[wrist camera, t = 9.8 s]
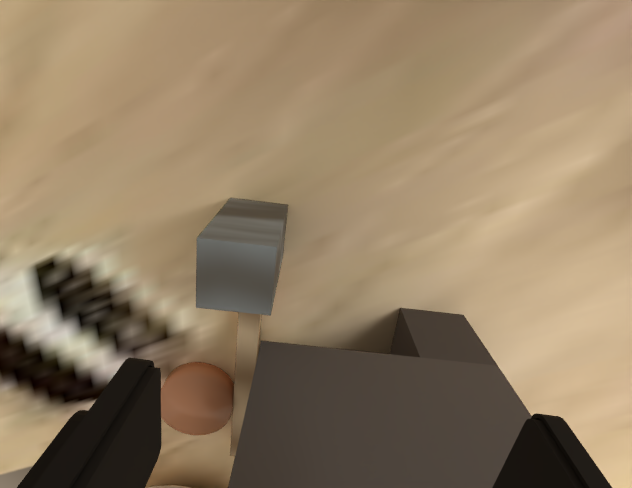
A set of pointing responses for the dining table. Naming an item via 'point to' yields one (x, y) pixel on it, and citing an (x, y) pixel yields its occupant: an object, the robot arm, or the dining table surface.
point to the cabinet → (380, 413)
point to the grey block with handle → (241, 280)
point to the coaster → (197, 398)
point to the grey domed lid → (173, 487)
